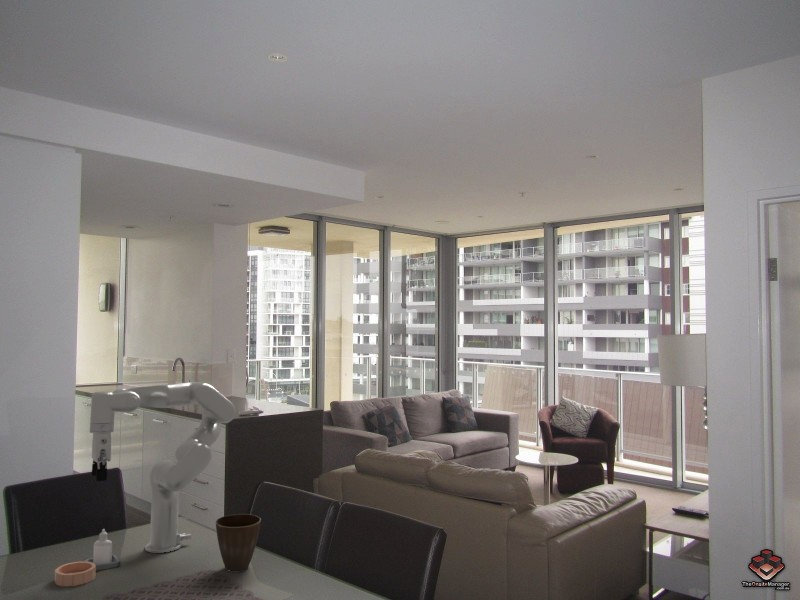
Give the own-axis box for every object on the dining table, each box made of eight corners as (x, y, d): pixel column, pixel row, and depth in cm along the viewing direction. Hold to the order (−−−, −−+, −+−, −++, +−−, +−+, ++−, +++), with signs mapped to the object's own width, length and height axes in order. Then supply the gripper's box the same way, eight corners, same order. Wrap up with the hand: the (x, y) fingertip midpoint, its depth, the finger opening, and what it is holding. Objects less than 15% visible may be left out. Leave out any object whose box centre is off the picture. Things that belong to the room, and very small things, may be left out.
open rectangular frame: (114, 558, 221) (114, 554, 222) (120, 566, 214) (120, 561, 215) (84, 563, 216) (84, 559, 216) (88, 571, 209) (89, 567, 209)
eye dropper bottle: (103, 568, 212) (105, 532, 213) (90, 566, 214) (92, 530, 215) (113, 564, 216) (114, 528, 217) (100, 561, 218) (102, 526, 219)
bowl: (91, 569, 211) (91, 559, 211) (98, 581, 201) (98, 569, 202) (52, 577, 204) (53, 566, 204) (57, 589, 195) (58, 577, 195)
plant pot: (265, 571, 212) (267, 522, 212) (221, 579, 204) (222, 529, 205) (251, 557, 224) (253, 511, 225) (209, 565, 217) (210, 517, 218)
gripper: (118, 430, 214) (115, 481, 213) (109, 424, 229) (106, 472, 227) (93, 431, 210) (90, 484, 209) (86, 425, 224) (83, 474, 223)
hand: (98, 477), depth 218 cm, fingers open, 9 cm apart
